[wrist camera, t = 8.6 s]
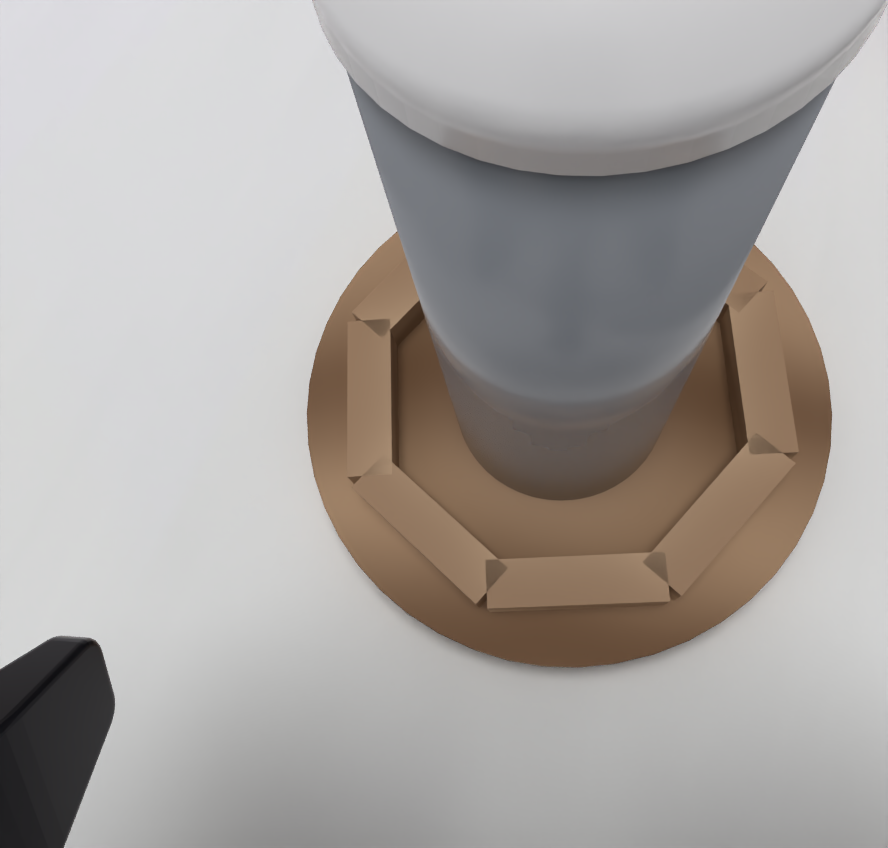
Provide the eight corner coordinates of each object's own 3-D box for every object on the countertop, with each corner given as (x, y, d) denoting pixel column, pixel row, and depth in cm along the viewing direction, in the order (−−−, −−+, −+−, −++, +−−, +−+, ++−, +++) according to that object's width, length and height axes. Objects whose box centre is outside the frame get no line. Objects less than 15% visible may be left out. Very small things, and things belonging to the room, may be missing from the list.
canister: (604, 546, 19) (761, 225, 5) (412, 438, 20) (159, -41, 7) (708, 358, 20) (1056, -300, 6) (518, 266, 21) (483, -449, 8)
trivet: (855, 658, 18) (895, 655, 16) (316, 676, 20) (289, 675, 18) (775, 178, 22) (801, 125, 20) (322, 217, 23) (300, 170, 21)
